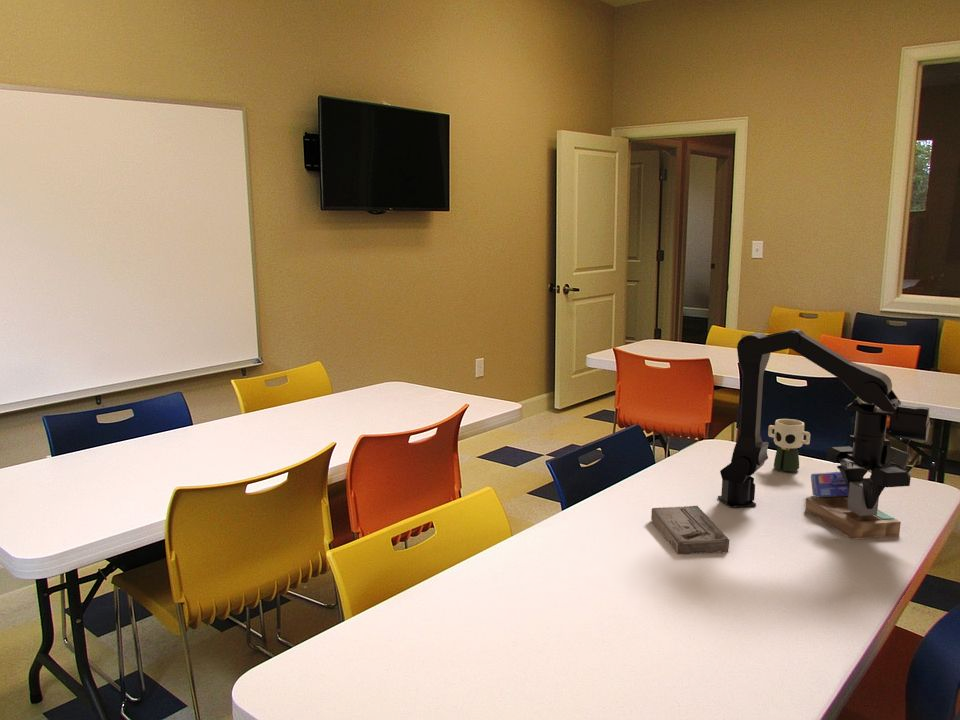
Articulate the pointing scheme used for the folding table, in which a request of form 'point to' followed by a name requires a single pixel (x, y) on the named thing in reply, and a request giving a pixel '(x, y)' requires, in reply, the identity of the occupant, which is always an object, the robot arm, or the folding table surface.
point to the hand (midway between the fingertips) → (862, 504)
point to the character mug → (788, 442)
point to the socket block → (851, 518)
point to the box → (689, 530)
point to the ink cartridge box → (829, 484)
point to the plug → (859, 500)
